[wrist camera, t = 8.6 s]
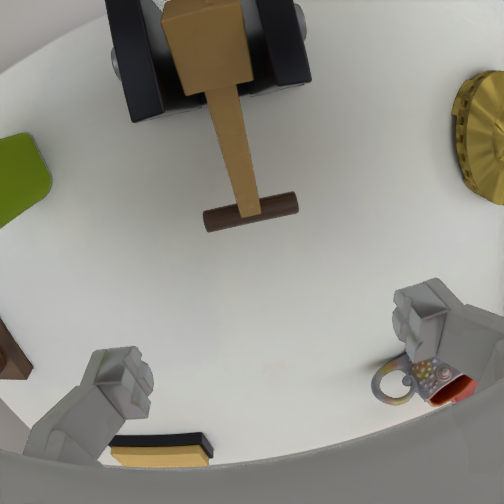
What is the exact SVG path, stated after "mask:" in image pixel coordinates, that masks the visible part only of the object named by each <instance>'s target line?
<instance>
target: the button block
mask: <svg viewBox="0 0 504 504" xmlns="http://www.w3.org/2000/svg"><path fill="white" fill-rule="evenodd" d="M32 369H33V366H32V365H31V363H30V362H29V361H28V359H27V358H26V356H25V355H24V354H23V352H22V351H21V349H20V348H19V347H18V345H17V344H16V342H15V341H14V339H13V338H12V336H11V335H10V333H9V332H8V330H7V328H6V327H5V325H4V324H3V322H2V321H1V319H0V379H10V380H27V379H28V377H29V375H30V373H31V371H32Z"/></svg>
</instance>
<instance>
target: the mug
mask: <svg viewBox="0 0 504 504" xmlns="http://www.w3.org/2000/svg"><path fill="white" fill-rule="evenodd" d="M395 370H401V371H403V372H405V373H406V375H407V376H405V377H404V378H403V380H402V383H403V385H405V386H411V388H410V391H409V392H408V393H407V394H406V395H405V396H403V397H400V398H392V397H389V396H387V395H385V394H384V393H383V392H382V391H381V389H380V382H381V379H382V377H383V376H385V375H386V374H388V373H390V372H392V371H395ZM473 381H474V380H473V379H472V378H470V377H468V376H467V375H465V374H463V373H462V372H460V371H458V370H457V369H455V368H453V367H452V366H450V365H448V364H447V363H445V362H444V361H442V360H440V359H439V358H437V357H436V356H435V357H432V358H429V359H426V360H423V361H421V362H418V363H415V364H413V362H412V361H411V359H410V357H409V356H408V354H407V353H406V354H404V355H402V356H400V357H398V358H397V359H395V360H393V361H391V362H389V363H387V364H385V365H384V366H382V367H381V368H380V369H379V370H378V371H377V372H376V374H375V375H374V377H373V379H372V381H371V389H372V392H373V394H374V395H375V397H376V398H377V399H378V400H380V401H382V402H383V403H386V404H389V405H401V404H404V403H406V402H407V401H409V400H410V399H411V397H412V396H413V395H414V394H415V392H416V393H418V394H419V395H420V396H421V398H423V399H424V401H425V402H428V403H429V405H431V406H433V407H440V406H442V405H444V404H445V403H447V402H449V401H451V400H452V399H454V398H456V397H458V396H459V395H460V394H462V393H463V392H464V391H465V390H466V389H467V388H468V387H469V386H470V385H471V384H472V383H473Z"/></svg>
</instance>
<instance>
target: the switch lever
mask: <svg viewBox="0 0 504 504" xmlns="http://www.w3.org/2000/svg"><path fill="white" fill-rule="evenodd" d="M160 24H161V26H162V29H163V32H164V35H165V38H166V41H167V44H168V47H169V50H170V53H171V56H172V59H173V62H174V65H175V68H176V71H177V74H178V77H179V80H180V82H181V85H182V88H183V91H184V94H185V95H186V96H189V95H193V94H196V93H200V92H204V93H205V96H206V100H207V103H208V107H209V110H210V114H211V117H212V120H213V124H214V127H215V131H216V134H217V137H218V141H219V144H220V148H221V151H222V154H223V158H224V161H225V165H226V168H227V171H228V175H229V178H230V182H231V185H232V188H233V192H234V195H235V199H236V202H237V203H236V204H232V205H227V206H223V207H219V208H214V209H210V210H206V211H204V212H203V220H204V225H205V228H206V230H207V232H214V231H218V230H223V229H227V228H231V227H236V226H240V225H245V224H249V223H254V222H258V221H263V220H268V219H272V218H277V217H281V216H286V215H291V214H296V213H298V212H299V207H298V201H297V197H296V194H295V193H294V192H293V191H292V192H287V193H282V194H277V195H273V196H268V197H263V198H259V196H258V191H257V186H256V180H255V175H254V170H253V165H252V160H251V155H250V150H249V145H248V140H247V135H246V130H245V125H244V120H243V115H242V110H241V105H240V101H239V96H238V91H237V86H236V84H239V83H244V82H249V81H253V79H254V76H253V70H252V64H251V58H250V52H249V46H248V40H247V34H246V29H245V23H244V17H243V12H242V6H241V3H240V1H239V0H171V1H167V2H166V3H165V5H164V9H163V13H162V18H161V22H160Z"/></svg>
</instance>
